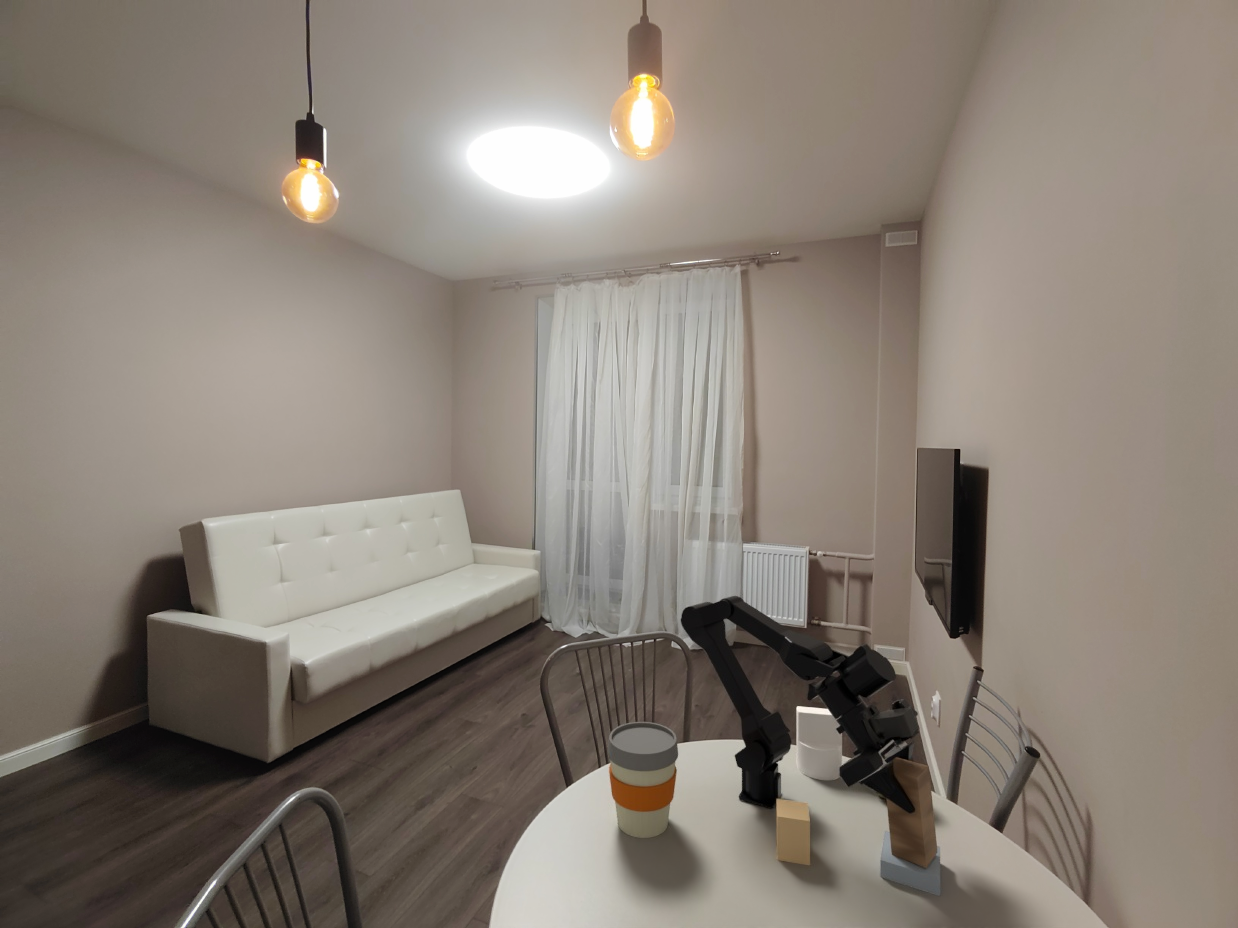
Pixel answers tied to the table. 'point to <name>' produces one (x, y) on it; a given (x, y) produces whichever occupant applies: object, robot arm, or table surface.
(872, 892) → the table surface
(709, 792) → the table surface
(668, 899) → the table surface
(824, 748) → the cylinder with rectangular tab
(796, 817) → the ochre block
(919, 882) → the slate block
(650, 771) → the reusable coffee cup
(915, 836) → the walnut pillar
